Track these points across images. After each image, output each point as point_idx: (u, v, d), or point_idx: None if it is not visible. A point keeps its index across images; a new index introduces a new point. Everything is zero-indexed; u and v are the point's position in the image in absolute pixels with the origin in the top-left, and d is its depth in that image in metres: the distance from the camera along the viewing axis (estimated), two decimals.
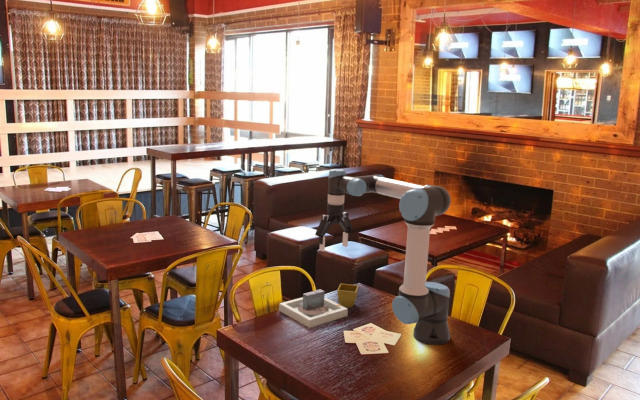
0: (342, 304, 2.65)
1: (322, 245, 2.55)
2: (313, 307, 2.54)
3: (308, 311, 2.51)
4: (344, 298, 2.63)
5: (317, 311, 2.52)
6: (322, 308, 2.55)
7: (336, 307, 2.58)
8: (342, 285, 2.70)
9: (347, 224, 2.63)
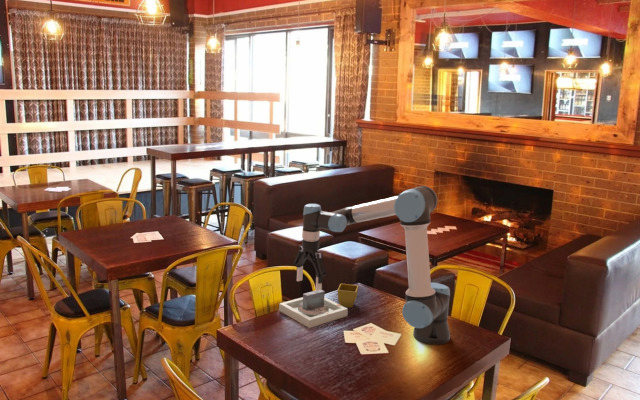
0: (342, 304, 2.65)
1: None
2: (313, 307, 2.54)
3: (308, 311, 2.51)
4: (344, 298, 2.63)
5: (317, 311, 2.52)
6: (322, 308, 2.55)
7: (336, 307, 2.58)
8: (342, 285, 2.70)
9: None
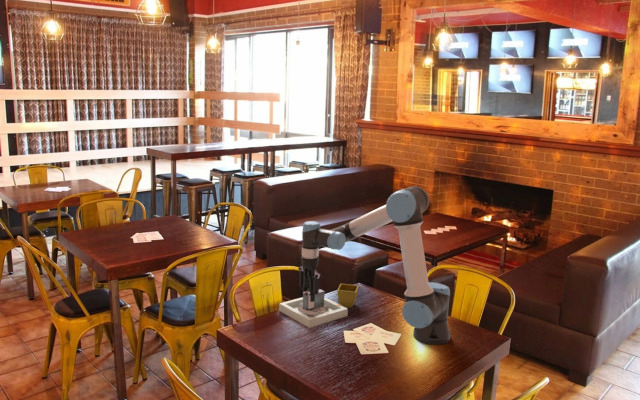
0: (342, 304, 2.65)
1: None
2: None
3: (308, 311, 2.51)
4: (344, 298, 2.63)
5: (317, 311, 2.52)
6: (322, 308, 2.55)
7: (336, 307, 2.58)
8: (342, 285, 2.70)
9: None
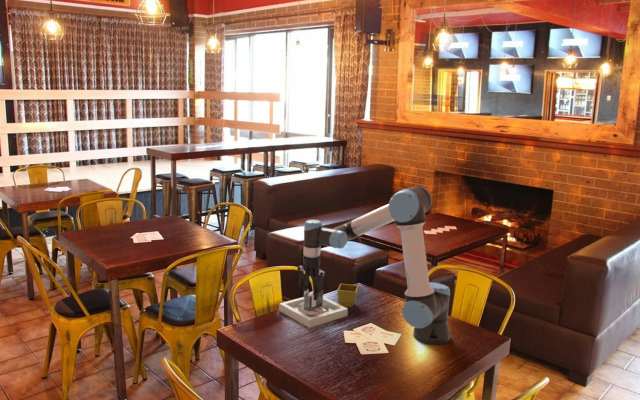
0: (342, 304, 2.65)
1: None
2: (314, 307, 2.55)
3: (311, 312, 2.51)
4: (344, 298, 2.63)
5: (319, 311, 2.52)
6: (322, 307, 2.56)
7: (336, 307, 2.58)
8: (342, 285, 2.70)
9: None
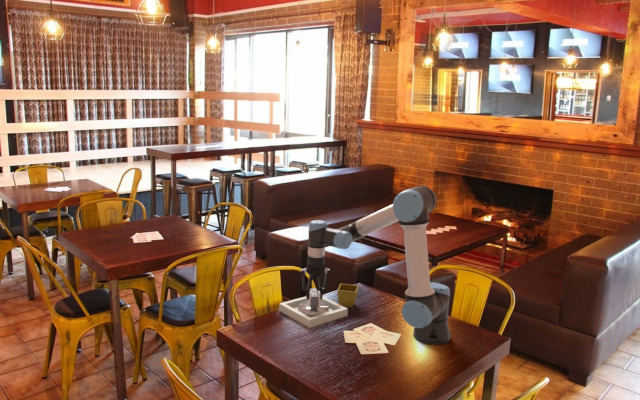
0: (342, 304, 2.65)
1: (309, 300, 2.52)
2: None
3: (320, 311, 2.52)
4: (344, 298, 2.63)
5: (324, 308, 2.55)
6: (320, 305, 2.59)
7: (336, 307, 2.58)
8: (342, 285, 2.70)
9: (324, 282, 2.52)
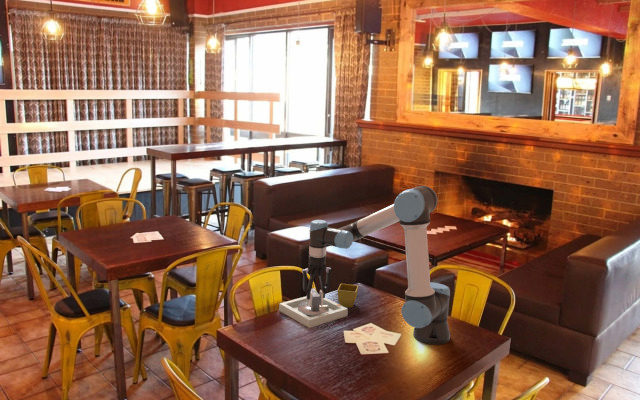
0: (342, 304, 2.65)
1: (309, 300, 2.51)
2: None
3: (322, 311, 2.52)
4: (344, 298, 2.63)
5: (324, 307, 2.56)
6: (319, 304, 2.60)
7: (336, 307, 2.58)
8: (342, 285, 2.70)
9: (326, 281, 2.52)
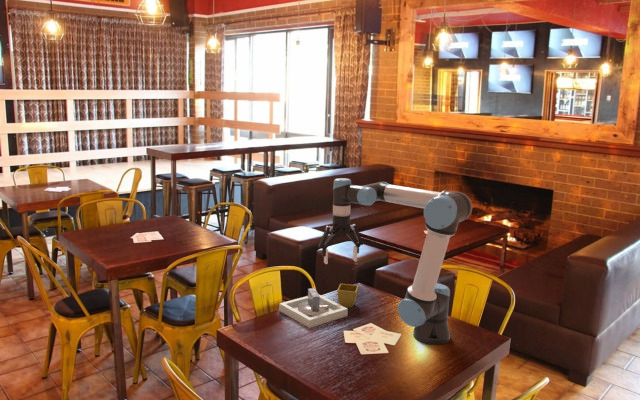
0: (342, 304, 2.65)
1: (325, 257, 2.44)
2: None
3: (322, 311, 2.52)
4: (344, 298, 2.63)
5: (324, 307, 2.56)
6: (319, 304, 2.60)
7: (336, 307, 2.58)
8: (342, 285, 2.70)
9: (357, 237, 2.48)
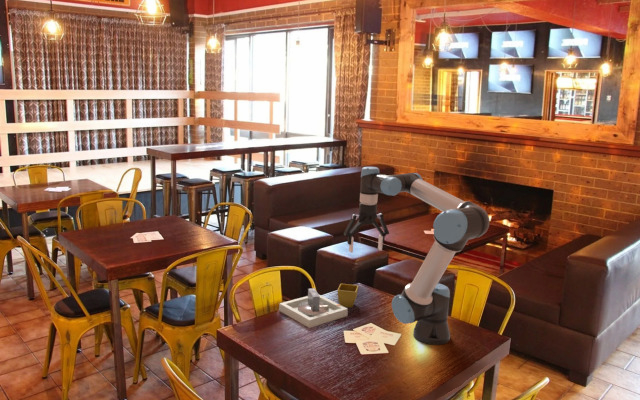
0: (342, 304, 2.65)
1: (350, 246, 2.43)
2: None
3: (322, 311, 2.52)
4: (344, 298, 2.63)
5: (324, 307, 2.56)
6: (319, 304, 2.60)
7: (336, 307, 2.58)
8: (342, 285, 2.70)
9: (383, 226, 2.47)
